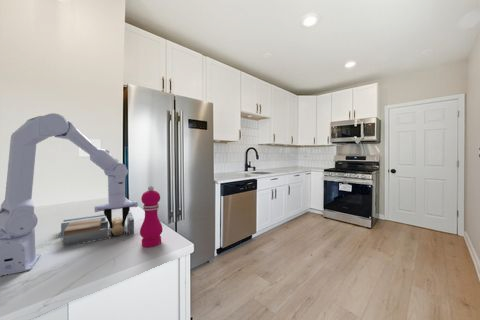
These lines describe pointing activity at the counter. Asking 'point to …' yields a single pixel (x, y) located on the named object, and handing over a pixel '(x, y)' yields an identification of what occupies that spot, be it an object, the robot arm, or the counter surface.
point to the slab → (82, 226)
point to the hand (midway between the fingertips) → (117, 226)
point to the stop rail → (130, 223)
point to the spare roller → (117, 226)
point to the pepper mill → (151, 219)
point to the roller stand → (66, 222)
